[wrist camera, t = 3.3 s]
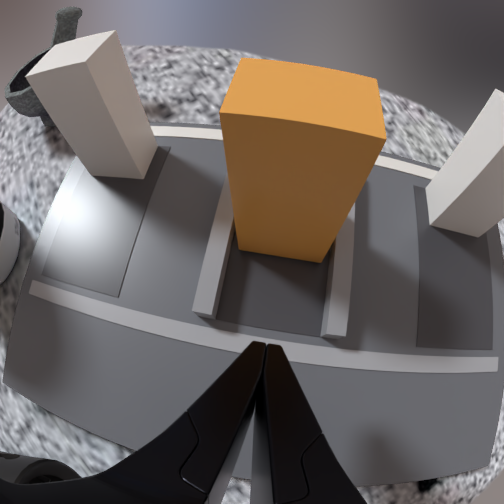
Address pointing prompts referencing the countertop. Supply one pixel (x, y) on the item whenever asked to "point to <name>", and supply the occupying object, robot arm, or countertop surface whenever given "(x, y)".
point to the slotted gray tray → (260, 287)
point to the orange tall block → (297, 153)
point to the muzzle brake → (33, 469)
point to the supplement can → (8, 241)
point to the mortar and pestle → (19, 87)
